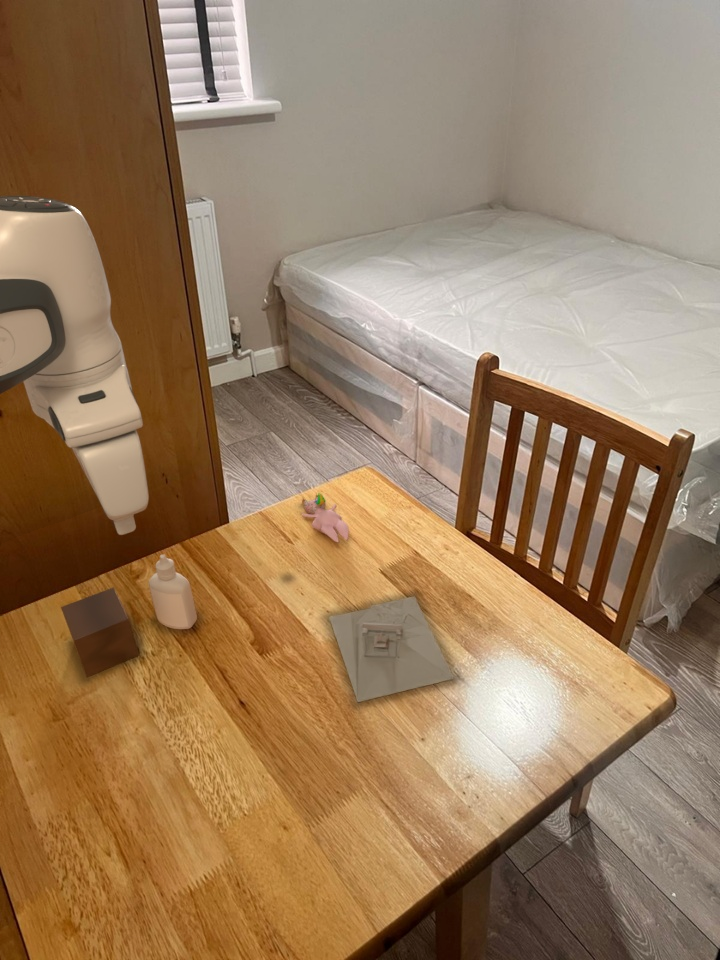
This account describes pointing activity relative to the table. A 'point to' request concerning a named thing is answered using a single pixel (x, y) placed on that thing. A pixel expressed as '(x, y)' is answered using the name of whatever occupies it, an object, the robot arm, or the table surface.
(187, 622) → the eye dropper bottle
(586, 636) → the table surface
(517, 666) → the table surface
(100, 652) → the walnut block
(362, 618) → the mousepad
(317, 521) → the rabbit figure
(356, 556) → the table surface
